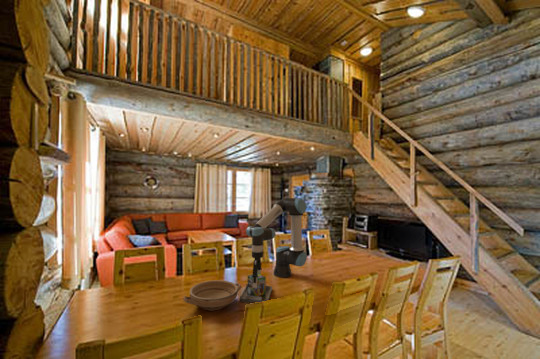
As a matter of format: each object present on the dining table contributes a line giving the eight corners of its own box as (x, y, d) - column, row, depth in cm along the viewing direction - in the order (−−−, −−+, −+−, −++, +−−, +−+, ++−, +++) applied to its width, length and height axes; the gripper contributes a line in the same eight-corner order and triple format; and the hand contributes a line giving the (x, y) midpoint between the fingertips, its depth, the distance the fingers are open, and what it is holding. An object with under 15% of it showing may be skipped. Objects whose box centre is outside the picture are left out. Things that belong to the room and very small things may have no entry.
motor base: (247, 287, 176) (247, 275, 177) (272, 289, 174) (272, 277, 174) (239, 301, 154) (239, 288, 154) (267, 304, 151) (268, 290, 152)
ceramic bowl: (192, 326, 125) (193, 306, 125) (174, 305, 147) (175, 288, 147) (252, 306, 148) (252, 289, 149) (228, 290, 170) (229, 275, 171)
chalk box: (265, 295, 160) (266, 272, 161) (253, 297, 155) (254, 274, 156) (258, 289, 168) (259, 268, 168) (246, 292, 163) (247, 270, 164)
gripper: (255, 246, 175) (254, 276, 175) (247, 255, 151) (247, 290, 150) (265, 246, 174) (265, 277, 174) (259, 256, 150) (259, 291, 149)
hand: (256, 283), depth 162 cm, fingers open, 13 cm apart
